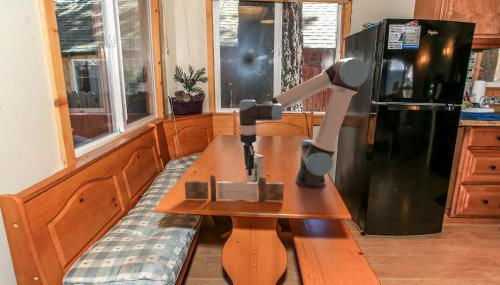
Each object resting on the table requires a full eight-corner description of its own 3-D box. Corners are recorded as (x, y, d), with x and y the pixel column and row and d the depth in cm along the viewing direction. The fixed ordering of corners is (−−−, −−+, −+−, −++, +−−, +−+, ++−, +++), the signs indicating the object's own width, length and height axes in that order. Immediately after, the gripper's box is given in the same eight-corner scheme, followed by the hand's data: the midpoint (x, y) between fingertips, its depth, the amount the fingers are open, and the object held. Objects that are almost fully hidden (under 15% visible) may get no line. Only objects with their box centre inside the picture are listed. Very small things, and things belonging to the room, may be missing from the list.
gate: (217, 199, 131) (217, 182, 129) (218, 197, 133) (217, 181, 131) (257, 200, 130) (257, 183, 128) (257, 198, 132) (257, 182, 130)
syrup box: (248, 181, 155) (248, 155, 152) (255, 178, 159) (256, 153, 156) (255, 184, 151) (256, 157, 148) (263, 181, 155) (264, 155, 152)
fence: (282, 200, 133) (283, 175, 130) (283, 203, 130) (284, 178, 127) (187, 198, 134) (185, 173, 131) (185, 201, 131) (184, 176, 128)
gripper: (237, 131, 140) (239, 177, 146) (243, 137, 128) (244, 186, 134) (252, 130, 142) (253, 175, 148) (259, 135, 130) (260, 185, 136)
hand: (249, 180), depth 141 cm, fingers closed
